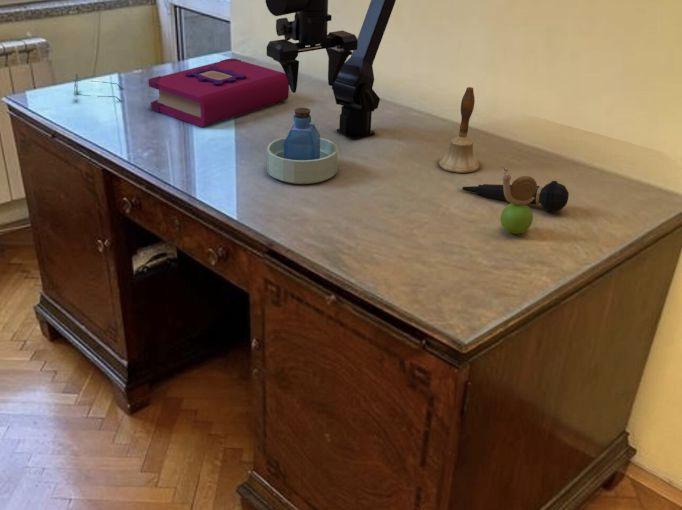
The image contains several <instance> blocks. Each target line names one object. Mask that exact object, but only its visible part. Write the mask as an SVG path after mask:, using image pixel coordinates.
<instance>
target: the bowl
mask: <svg viewBox="0 0 682 510" xmlns="http://www.w3.org/2000/svg"><path fill="white" fill-rule="evenodd" d="M286 138H287V136H285V137H280V138H277V139H275V140H272V141H271V142H270V143H268V144H267V145H266V171H267V173H268V175H269V176H271V177H272V178H274V179H275V180H278V181H281V182H283V183H287V184H293V185H310V184H317V183H321V182H324V181H327V180H329V179H331V178H333V177H334V176H335V175H336V174H337V173H338V156H339V155H338V151H339V147H338V146H337V145H336V143H335V142H333V141H331V140H329V139H327V138H324V137H320V159H316V160H291V159H285V158H284V142H285V140H286Z"/></svg>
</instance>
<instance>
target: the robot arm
mask: <svg viewBox="0 0 682 510" xmlns="http://www.w3.org/2000/svg"><path fill="white" fill-rule="evenodd" d="M396 1H397V0H370V2H369V5H368V7H367V11H366V14H365V15H364V16H365V17H364V19H363V21H362V25H361V28H360V30H359V33H358V36H356V34H354V33H351V32H348V31H346V30H343V29H342V30H336V31H330V32H328V24H329V23H328V22H332V17H333V16H332V14H329V0H265V1H264V2H265V5H266V8H267V10H268V11H269V13H270V14H271V15H273V16H274V17H280V16H285V15H290V14H294V20H291V21H289V19H288V18H287V17H281V18H277V19H276V20H275V31H276V35H277V37H283V36H284V38H282V39H276V40H270V41H269V42H268V43H267V45H266V57H268V58H271V59H272V60H273V61H275V62H277V63H279V64H280V66H281V68H282V70H283V73H285V75H286V77H287V80H288V83H289V90H290V91H291V93H293V94H296V92H297V87H298V79H299V70H300V69H299V67H300V60H298V59H297V58H298V57H299V54H301V53H308V52H311V51H312V52H313V51H318V50H324V49H325V51H326V54H327V58H328V61H327V62H328V63H327V64H328V65H327V84H328V86H330V87H331V90H332V91H333V92H332V93H333V96H334V100H335V104H336V105H340V106H341V111H340V114H339V125H338V126H339V128H337V129H336V133H339V134H340V135H342V136H345V137H346V138H347V139H348V138H349V139H350V140H357V139H361V138H366V137H370V136H374V135H376V132H375V131H374V130H372V114H373V112H375V110H378V108H379V105H380V101H381V98H380V97H379V95H378V94H377V92H375V90H374V89H373V87H374V82H375V74H374V68H373V65H374V61H375V59H376V56H377V53H378V51H379V48H380V45H381V42H382V40H383V38H384V37H383V36H384V34H385V31H386V29H387V26H388V23H389V20H390V17H391V16H392V12H393V10H394V6H395V4H396ZM290 40H292V41H295V42H292V41H290ZM296 41H297V42H296Z"/></svg>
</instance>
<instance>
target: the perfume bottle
mask: <svg viewBox="0 0 682 510" xmlns="http://www.w3.org/2000/svg"><path fill="white" fill-rule="evenodd" d="M293 110H294V115H293V124H292V126H291V128H290V130H289V131H288V134H287V136H286V137H287V138H286V140H285V142H284V158H285V159H291V160H316V159H320V138H321V134H320V132H319V130H318V128H317V127H316V125H315V124H314V123H312V115H311V108H308V107H296V108H294V109H293Z"/></svg>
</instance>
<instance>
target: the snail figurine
mask: <svg viewBox="0 0 682 510" xmlns="http://www.w3.org/2000/svg"><path fill="white" fill-rule="evenodd" d="M502 169H503V170H504V171H503V172H504V173H503V175H502V178H501V179H502V185H503V190H504V195H505V198H506V200H505V201H507V202H508V203H509V204H507V205H506V206H505V207H504V208H503V210H501V214H500V224H501V226H502V228H503V229H504V230H505V231H506V232H507V233H510V234H515V235H517V234H518V235H519V234H523V233H524V232H526V231H527V230H529V228H530V227H531V226H532V224H533V220H534V214H533V211H532V209H531V208H530V206H529V205H530V204H529V203H530V202H532V201H533V200H534V197H532V196H533V195H534V194H535V193H536V190H537V186H538V184H537V181H536V179H535V178H534V177H532V176H530V175H522V176H521V175H520V176H519V177H517V178H516V179H515V180H513V181H512V183H511V179H512V176H511V174H510V173H507V172H508V171H509V169H508V168H507V167H506V166H504V167H503V168H502ZM510 185H511V186H510Z"/></svg>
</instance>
